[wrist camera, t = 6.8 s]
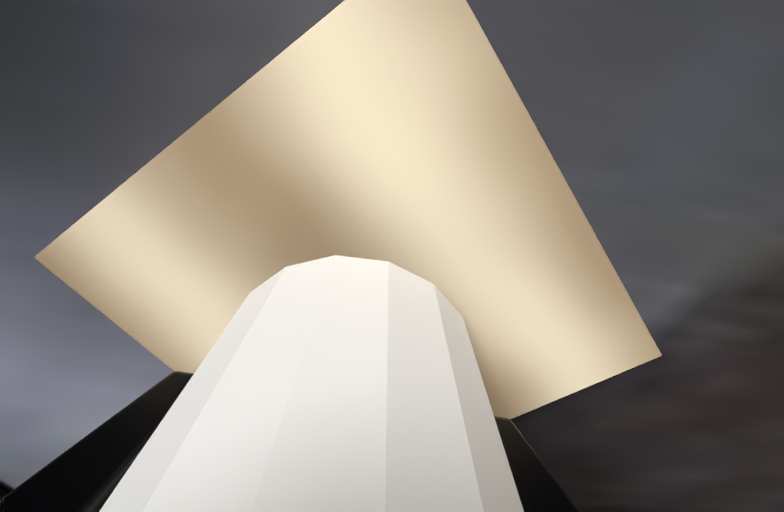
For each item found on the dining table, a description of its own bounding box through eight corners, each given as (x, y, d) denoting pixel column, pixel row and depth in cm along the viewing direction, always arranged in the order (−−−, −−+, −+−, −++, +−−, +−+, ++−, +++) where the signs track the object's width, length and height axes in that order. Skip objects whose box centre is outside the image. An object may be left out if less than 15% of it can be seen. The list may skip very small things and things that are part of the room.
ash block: (341, 408, 21) (327, 496, 17) (115, 195, 16) (33, 257, 12) (609, 277, 17) (661, 355, 13) (421, -57, 12) (428, -68, 9)
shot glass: (561, 350, 11) (751, 810, 5) (371, 485, 14) (343, 888, 8) (320, 159, 9) (131, 563, 3) (152, 365, 12) (-126, 792, 6)
